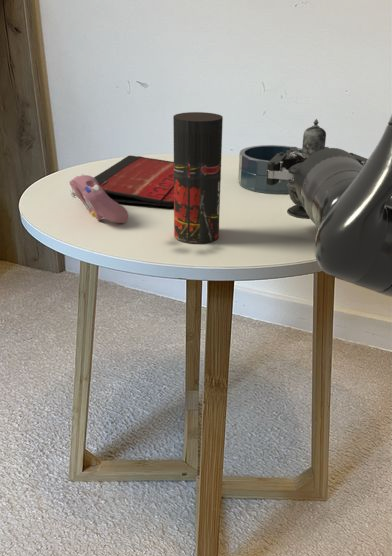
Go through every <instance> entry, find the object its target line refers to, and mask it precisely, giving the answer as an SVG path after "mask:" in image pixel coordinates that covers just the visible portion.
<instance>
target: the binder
mask: <svg viewBox="0 0 392 556" xmlns="http://www.w3.org/2000/svg"><path fill="white" fill-rule="evenodd" d="M93 177H94V178H95V179H96V180H97V181H98V183H99V186H100V187H101V188H102V189H103V190H104V191H105V193H106V194H107V195H108V196H109V197H110V198H111V199H112V200H114V201H115V202H117V203H124V204H125V203H126V204H138V205H139V204H140V205H149V206H150V205H151V206H156V207H173V208H174V161H170V160H164V159H158V158H151V157H145V156H140V155H127V156H125V157H124V158H122V159H121V160H119V161H118V162H116V163H115V164H113V165H112V166H110V167H108V168H107V169H105V170H104V171H102V172H101V173H98V174H97V175H95V176H93Z"/></svg>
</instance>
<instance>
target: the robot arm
mask: <svg viewBox="0 0 392 556" xmlns="http://www.w3.org/2000/svg"><path fill="white" fill-rule="evenodd" d="M290 147H291V148H290V150H287V151H286V154H284V153H278V154H276V155H275V156H274V157H273V158H272V159H271V160H270V161H269V162H268V165H267V180H266V184H269V185H275V184H276V183H277V182H282V179H284V180H288V183H289V184H290V185H292V186H294V187H295V189H296V193H297V195H298V198H299V200H300V201H301V203H302V205H303V207H304V209H305V210H306V212H307V214H308V216H309V217H310V219H309V220H311V222H312V223H313V224H314V225H315V226H316V227H317V228H318V229H317V232H316V234H315V240H314V256H315V260H316V263H317V266H318V267H319V268H320V270H321V271H322V272H324V273H325V274H326V275H329V276H330V277H332V278H335V279H338V280H341V281H344V282H346V283H350V284H352V285H355V286H358V287H361V288H364V289H367V290H370V291H373V292H376V293H378V294H381V295H384V296H387V297H390V298H392V114H391V115H390V117H389V119H388V122H387V125H386V126H385V129H384V131H383V133H382V135H381V137H380V140H379V141H378V143H377V145H376V146H375V148H374V150H373V151H372V152H371V154H370V155H369V157H368V158H367V157H364V156H361V155H358V154H356V153H353V152H348V151H346V150H344V149H341V148H337V147H329V146H325V149H322V150H319V151H317V152H315V153H313V154H312V155H310V154H308V153H300V151H299V150H298V148H299V147H298V146H290Z"/></svg>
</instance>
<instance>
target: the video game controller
mask: <svg viewBox="0 0 392 556" xmlns="http://www.w3.org/2000/svg"><path fill="white" fill-rule="evenodd" d="M94 177H95V176H91V175H86V174H84V173H81V175H79V176H78V175H76V176H75V177H73V178H72V179H70V181H69V185H70V187H71V190H69V195H70V196H71V197H72V198H74V199H76V198H78V199H79V200H80V201H81V203H82V204H83V205H84V207H85V208H86V210H87V211H88V212H89V214H90V216H91V217H92V218H95V219H96V220H97V221H98V222H99V221H101V220H102V219H105V220H107V221H109V222H112V223H116V224H124V223H127V221H128V219H129V213H128V211H127V209H126V208H125V207H124V206H123V205H121V204H120V203H119V202H115V201H114V200H112V199H111V198H110V197H109V196H108V195H107V194H106V193H105V191H104V190H103V189H102V188H101V187H100V186H99V183H98V181H97V180H96V179H95V178H94Z"/></svg>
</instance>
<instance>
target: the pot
mask: <svg viewBox="0 0 392 556" xmlns="http://www.w3.org/2000/svg"><path fill="white" fill-rule="evenodd" d="M291 147H292V146H291V145H290V146H289V145H280V144H279V145H278V144H277V145H276V144H263V145H253V146H248V147H245V148H242V149H241V150H240V151H239V159H238V174H237V175H238V178H237V179H238V182H237V183H238V185H239V187H241V188H243V189H245V190H249V191H252V192H256V193H260V194H269V195H289V189H288V188H287V185H288V180H284V179H282V182H277V183H276V184H275V185H269V184H266V180H267V165H268V162H269V161H270V160H271V159H272V158H273V157H274V156H275V155H276V154H278V153H284V154H286V151H287V150H290V148H291ZM297 148H298V150H299V151H300V153H302V147H297Z"/></svg>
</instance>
